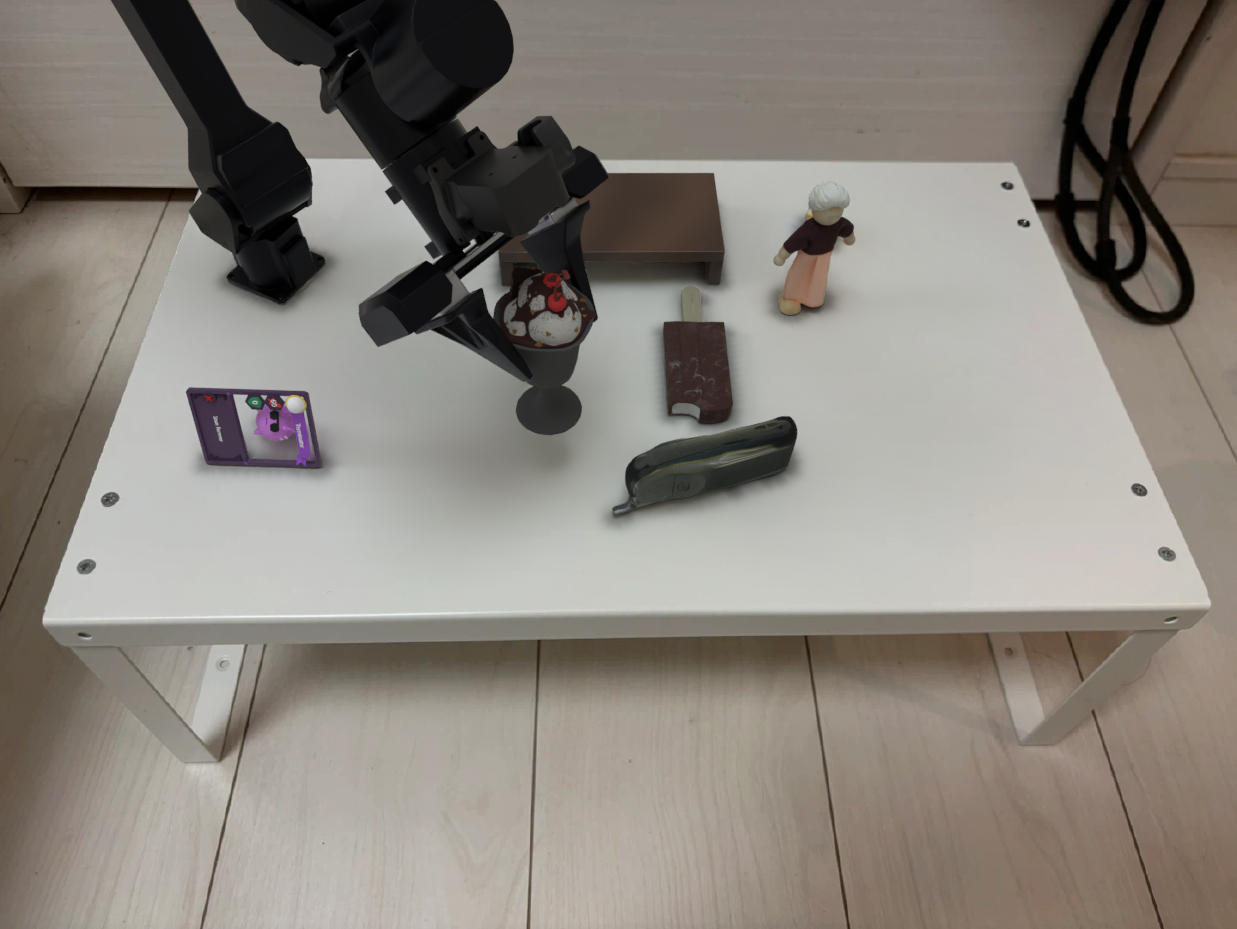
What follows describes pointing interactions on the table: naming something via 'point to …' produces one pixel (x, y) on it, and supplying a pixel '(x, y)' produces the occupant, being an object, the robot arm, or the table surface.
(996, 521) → the table surface
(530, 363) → the sundae
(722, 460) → the swiss army knife
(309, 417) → the game card
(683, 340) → the ice cream bar
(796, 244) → the grandmother figurine
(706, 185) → the shelf
